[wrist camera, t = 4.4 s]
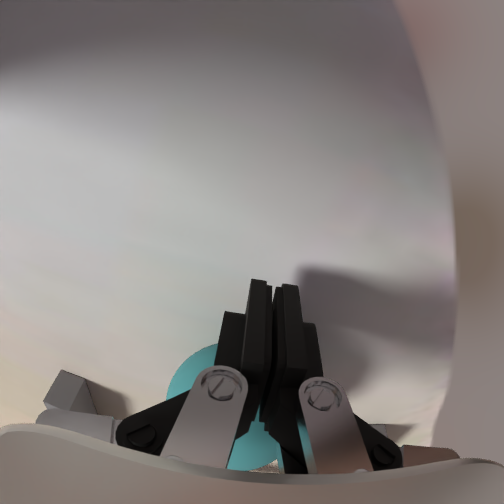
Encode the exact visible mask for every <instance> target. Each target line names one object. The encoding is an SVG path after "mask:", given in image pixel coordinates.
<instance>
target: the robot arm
mask: <svg viewBox="0 0 504 504" xmlns="http://www.w3.org/2000/svg"><path fill="white" fill-rule="evenodd" d="M259 405H260V406H259ZM258 408H259V422H263V423H264V431H267V432H269V433H268V434H269V435H270V436H271V437H272V438H273V439H275V440H276V441H275V449H276V455H277V461H278V467H279V473H280V474H276V473H261V472H249V471H240V470H231V469H227V467H228V464H229V461H230V458H231V454H232V451H233V448H234V444H235V441H236V440H237V439H238V438H240V437H241V436H243V435H245V434H246V433H248V432H249V429H250V425H251V422H252V421H255V418H256V415H257V411H258ZM0 504H504V466H503V465H502V464H499V463H497V462H494V461H491V460H486V459H480V458H460V456H459V455H458V454H457V453H456V452H455V451H454V450H452V449H449V448H437V447H424V446H413V445H403V446H402V447H398V446H397V445H396V444H395V443H394V442H393V441H392V440H390V439H389V438H387V437H386V436H384V435H383V434H382V433H380V432H379V431H377V430H376V429H375V428H373V427H372V426H370V425H369V424H368V423H366V422H365V421H364V420H362V419H361V418H359V417H358V416H357V415H355V414H354V413H353V411H352V408H351V406H350V403H349V400H348V397H347V395H346V393H345V391H344V389H343V388H342V387H341V386H340V385H339V384H338V383H337V382H335V381H333V380H332V379H328V378H325V377H323V370H322V363H321V357H320V350H319V344H318V338H317V332H316V327H315V324H314V323H305V322H303V320H302V312H301V304H300V296H299V289H298V286H297V285H290V284H282V287H276V289H275V293H274V298H273V302H272V286H269V285H267V281H263V280H256V279H251V284H250V290H249V296H248V301H247V307H246V313H245V314H240V313H234V312H227V311H225V313H224V317H223V322H222V327H221V332H220V336H219V341H218V346H217V351H216V356H215V361H214V366H211V367H208V368H205V369H204V370H203V371H201V372H200V373H199V374H198V376H197V377H196V379H195V381H194V384H193V386H192V388H191V389H190V390H188V391H186V392H183V393H181V394H179V395H177V396H175V397H173V398H170V399H168V400H166V401H164V402H162V403H159V404H157V405H155V406H153V407H150V408H148V409H146V410H143V411H141V412H139V413H136V414H134V415H131V416H129V417H127V418H126V419H124V420H116V419H113V416H105V415H96V414H88V413H81V412H75V411H68V410H62V409H48V410H45V411H43V412H42V413H41V414H40V415H39V416H38V418H37V420H36V423H35V424H34V423H18V424H10V425H6V426H3V427H1V428H0Z"/></svg>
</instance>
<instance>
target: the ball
mask: <svg viewBox="0 0 504 504" xmlns="http://www.w3.org/2000/svg"><path fill="white" fill-rule="evenodd" d="M217 346H218V344H214V345H211V346H208V347H206V348H203V349H201V350H200V351H198V352H196V353H194V354H193V355H192V356H191V357H189V358H188V359H187V360H186V361H185V362H184V363H183V364H182V365H181V366H180V367H179V369H178V370H177V371H176V373H175V375H174V376H173V378H172V380H171V383H170V385H169V388H168V392H167V397H166V400H168V399H170V398H173V397H175V396H177V395H179V394H181V393H183V392H186V391H188V390H190V389H191V388H192V386H193V384H194V381H195V379H196V377H197V376H198V374H199V373H200V372H201V371H203V370H204V369H205V368H208V367H211V366H214V361H215V356H216V351H217ZM259 406H260V405H259ZM268 433H269V432H267V431H264V423H263V422H259V408H258V411H257V415H256V418H255V421H252V422H251V425H250V429H249V432H248V433H246V434H245V435H243V436H241V437H240V438H238V439H237V440H236V441H235V444H234V448H233V451H232V454H231V458H230V461H229V464H228V467H227V469H231V470H240V471H248V470H253V469H257V468H260V467H263V466H265V465H267V464H269V463H271V462H273V461H274V460H276V459H277V455H276V449H275V441H276V440H275V439H273V438H272V437H271V436H270V435H269V434H268Z"/></svg>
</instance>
